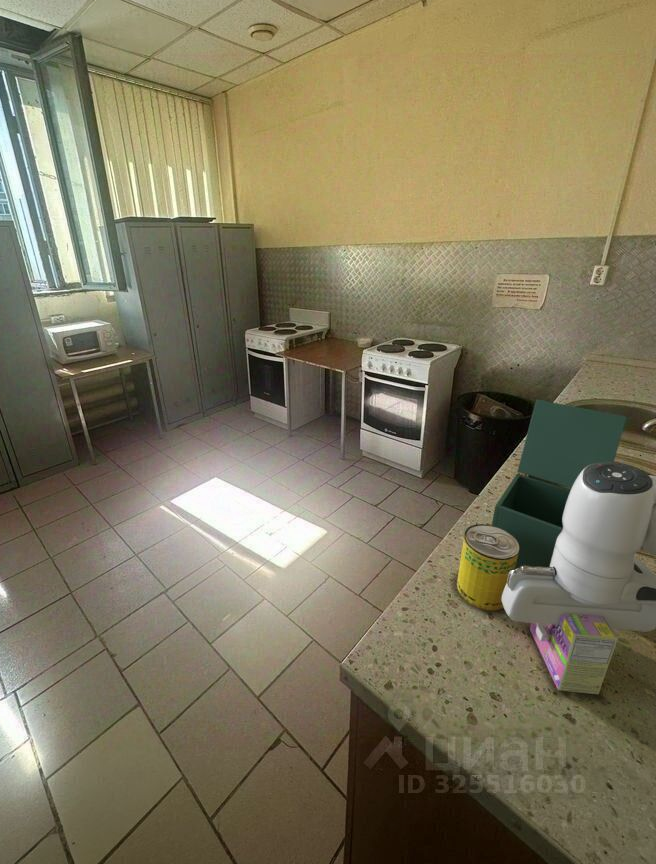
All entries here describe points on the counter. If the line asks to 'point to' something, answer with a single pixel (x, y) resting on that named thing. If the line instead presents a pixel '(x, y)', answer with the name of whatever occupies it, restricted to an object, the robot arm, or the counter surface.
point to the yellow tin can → (486, 565)
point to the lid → (568, 441)
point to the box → (578, 652)
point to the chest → (532, 518)
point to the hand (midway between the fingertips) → (567, 639)
